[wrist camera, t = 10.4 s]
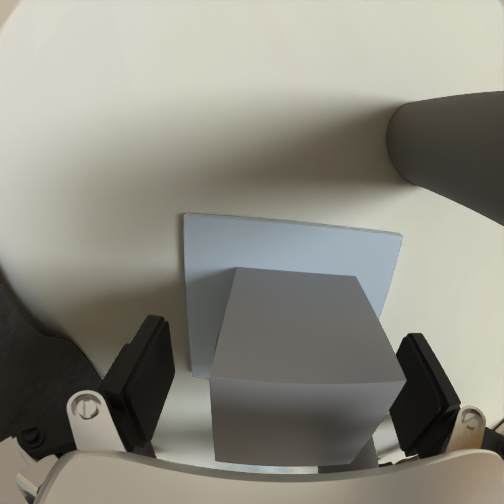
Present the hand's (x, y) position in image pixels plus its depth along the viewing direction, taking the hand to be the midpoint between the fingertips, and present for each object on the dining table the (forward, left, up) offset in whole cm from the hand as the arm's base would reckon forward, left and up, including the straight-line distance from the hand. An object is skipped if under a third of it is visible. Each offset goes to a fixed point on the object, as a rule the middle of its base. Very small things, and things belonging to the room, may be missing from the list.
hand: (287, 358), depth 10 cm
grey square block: (0, 0, -2) cm, 3 cm away
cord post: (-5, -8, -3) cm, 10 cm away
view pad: (0, 0, -3) cm, 3 cm away
